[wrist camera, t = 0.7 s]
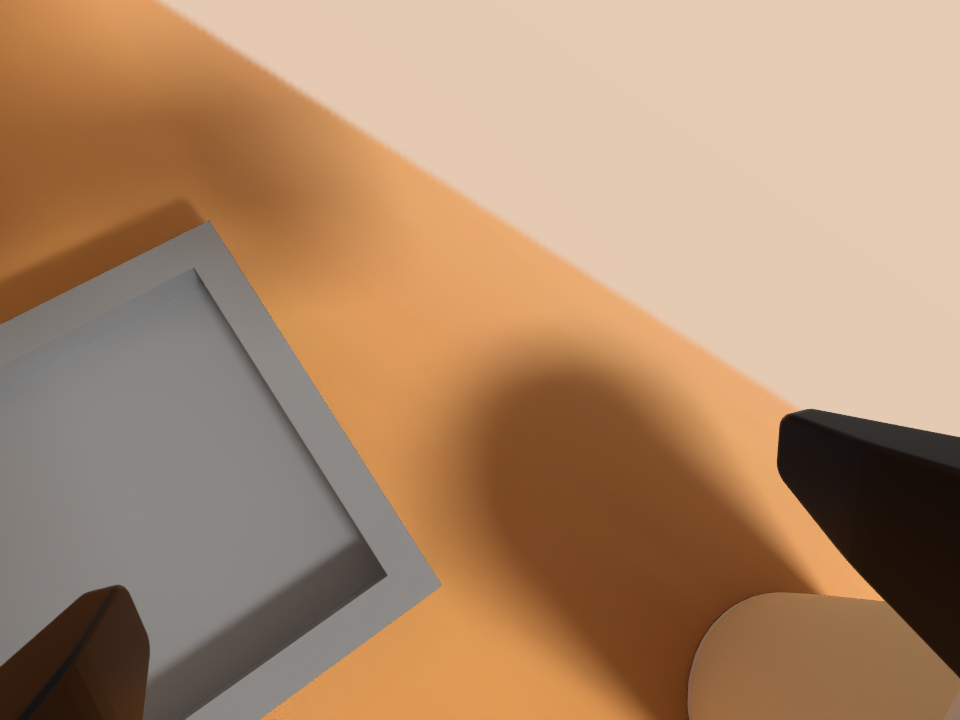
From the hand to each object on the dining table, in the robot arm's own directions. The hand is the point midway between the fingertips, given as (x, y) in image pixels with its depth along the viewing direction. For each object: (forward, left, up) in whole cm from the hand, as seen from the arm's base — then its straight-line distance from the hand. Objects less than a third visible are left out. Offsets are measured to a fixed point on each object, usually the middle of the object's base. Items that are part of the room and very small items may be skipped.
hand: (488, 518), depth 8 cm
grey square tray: (+5, +8, -14) cm, 17 cm away
